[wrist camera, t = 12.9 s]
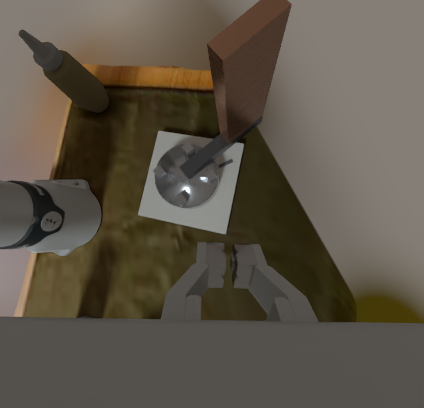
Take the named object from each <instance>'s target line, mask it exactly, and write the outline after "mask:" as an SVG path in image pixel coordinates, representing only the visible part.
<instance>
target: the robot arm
mask: <svg viewBox="0 0 424 408" xmlns="http://www.w3.org/2000/svg"><path fill="white" fill-rule="evenodd" d="M100 222H101V208H100V204H99V202H98V200H97V198H96V197H95V196H94V195H93V193H92V192H91V190H90V187H89V184H88V182H87V181H86V180H82V179H77V180H33V181H32V182H31V183H28V182H23V181H1V180H0V249H19V248H23V247H25V249H27V250H30V251H31V252H32V253H41V252H52V251H53V252H54V253H56V254H58V255H60V256H67V255H69V254H70V253H71V252H72V251H73V250H74V249H75V248H77V247H79V246H81V245H83V244H85V243H87V242H88V241H90V240H91V239H92V238H93V236H94V235H95V234H96V232H97V230H98V228H99V226H100ZM232 252H233V253H232V254H231V260H230V266H231V271H232V272H233V274H232V282H233V288H247V289H249V291H250V292H251V293H252V295H253V296H254V297H255V299H256V300H257V301H258V302H259V304H260V305H261V306H262V308H263V309H264V310H265V312H266V313H267V314H268V317H267V319H266V321H228V320H201V298H202V296H203V295H204V293H205V292H206V290H207V288H211V287H223V282H224V274H225V269H226V257H225V254H224V243H210V242H207V243H206V242H198V244H197V259H196V264H193V265H192V266H191V267H190V268H189V269H188V270H187V271H186V272H185V274H184V275H183V276H182V277H181V278H180V279H179V280H178V281H177V282H176V283H175V284H174V286H173V287H172V288H171V289H170V290H169V291H168V292H167V293H166V297H165V301H164V306H163V311H162V315H161V319H109V318H50V317H0V408H424V324H411V323H352V322H318V320H317V318H316V316H315V314H314V312H313V310H312V308H311V306H310V304H309V302H308V300H307V298H306V297H305V296H304V295H303V294H302V293H301V292H300V291H298V290H297V289H296V288H295V287H294V286H293V285H291V284H290V283H289V282H288V281H287V280H286V279H284V278H283V277H282V276H281V275H280V274H279V273H277V272H276V271H275V270H274V269H273V268H272V267H270V266H267V263H266V261H265V258H264V255H263V252H262V250H261V247H260V245H259V244H233V246H232Z"/></svg>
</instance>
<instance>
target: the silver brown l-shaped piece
mask: <svg viewBox="0 0 424 408" xmlns="http://www.w3.org/2000/svg"><path fill="white" fill-rule="evenodd" d="M290 9H291V3H289V2H288V1H287V0H260V1H259V2H257V3H256V4H255V5H254V6H253V7H251V8H250V9H249V10H248V11H247V12H245V13H244V14H243V15H242V16H241V17H239V18H238V19H237V20H236V21H234V22H233V23H232V24H231V25H230V26H228V27H227V28H226V29H225V30H224V31H222V32H221V33H220V34H219V35H217V36H216V37H215V38H214V39H213V40H211V41H210V42H209V43H208V44H207V47H208V53H209V60H210V67H211V74H212V81H213V87H214V94H215V101H216V108H217V114H218V121H219V128H220V134H219V135H218V136H217V137H216V138H215V139H213V140H212V141H211V142H210V143H208V144H207V145H206V146H205V147H203V148H202V147H200V146H198V145H194V144H190V143H189V141H188V142H187V143H186V144H181V145H178V146H175V147H173V148H171V149H170V150H168V151H167V152H166V153H165V154H164V155H163V156H162V157H161V158H160V160H159V162H158V164H157V166H156V168H155V169H154V170H153V172H154V173H155V185H156V188H157V190H158V192H159V194H160V195H161V197H162V198H163V199H164V200H165V201H167V202H168V203H170V204H172V205H174V206H177V207H180V208H184V209H195V208H199V207H201V206H203V205H205V204H207V203H208V202H209V201H210V200H211V199H212V198H213V197H214V195H215V194H216V192H217V190H218V187H219V181H220V177H219V171H218V168H217V164H216V162H215V159H216V158H218V157H219V156H220V155H221V154H223V153H224V152H225V151H226V150H227V149H229V148H230V147H231V146H232V145H234V144H235V143H236V142H237V141H239V140H240V139H241V138H242V137H244V136H245V135H246V134H247V133H249V132H250V131H251V130H252V129H254V128H255V127H256V126H257V125H259V124H260V123H261V121H262V115H263V111H264V107H265V103H266V100H267V96H268V92H269V88H270V85H271V80H272V77H273V73H274V70H275V65H276V62H277V58H278V54H279V50H280V47H281V43H282V39H283V35H284V32H285V28H286V23H287V20H288V16H289V12H290Z"/></svg>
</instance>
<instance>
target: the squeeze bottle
mask: <svg viewBox="0 0 424 408" xmlns="http://www.w3.org/2000/svg"><path fill="white" fill-rule="evenodd" d="M19 36H20V37H21V38H22V39H23V40H24V41H25V43H26V44H27V45H28V46H29V47H30V48H31V49H32V51H33V52H34V55H33V57H34V60H35V62H36V63H37V64H38V65H40V66H41V67H42V68H43V71H44V74H45V76H46V77H47V78H48V79H49V80H51V81H52V82H53V83H54V84H55V85H56V86H57V87H58V88H59V89H60V90H61V91H62V92H64V93H65V94H66V95H67V96H68V97H69V98H70V99H71V100H72V101H73V102H74V103H75V104H77V105H78V106H79V107H81V108H83V109H86V110H89V111H92V112H95V113H101V112H103V111H105V109H106V108H107V107H108V105H109V97H108V95H107V93H106V91H105V88H104V86H103V84H102V83H101V82H100V81H99V80H98V79H97V78H96V77H95V76H94V75H92V74H91V73H90V72H89V71H88V70H87V69H86V68H84V67H83V66H82V65H81V64H80V63H79V62H77V60H75V59H74V58H73V57H72V56H71V55H70V54H69V53H67V52H66V51H62V50H58V49H57V48H56V47H55V46H54V45H53V44H52V43H49V42H43V43H42V42H40V41H39V40H38V39H36V38H35V37H33V36H31V35H30V34H29V33H27V32H26V31H24V30H20V32H19Z"/></svg>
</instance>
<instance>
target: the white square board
mask: <svg viewBox="0 0 424 408" xmlns="http://www.w3.org/2000/svg"><path fill="white" fill-rule="evenodd" d="M212 140H213V139H209V138H203V137H196V136H190V135H183V134H177V133H170V132H163V131H158V135H157V139H156V144H155V148H154V152H153V156H152V160H151V164H150V168H149V172H148V176H147V180H146V184H145V188H144V192H143V197H142V201H141V205H140V209H139V213H138V215H141V216H145V217H150V218H154V219H159V220H163V221H168V222H172V223H177V224H181V225H186V226H190V227H195V228H199V229H204V230H208V231H213V232H217V233H222V234H226V232H227V227H228V222H229V217H230V212H231V207H232V202H233V197H234V192H235V187H236V182H237V178H238V173H239V168H240V163H241V158H242V153H243V148H244V144H242V143H235V144H234V145H232V146H231V147H230V148H229V149H227V150H226V151H225V152H224V153H223V154H221V155H220V156H219V157H218V158H216V159H215V162H216V164H217V168H218V171H219V177H220V181H219V187H218V190H217V192H216V194H215V195H214V197H213V198H212V199H211V200H210V201H209V202H208V203H207V204H205V205H203V206H201V207H199V208H195V209H184V208H180V207H177V206H174V205H172V204H170V203H168V202H167V201H165V200H164V199H163V198H162V197H161V195H160V194H159V192H158V190H157V188H156V185H155V173H154V172H153V170H154V169H155V168H156V166H157V164H158V162H159V160H160V158H161V157H162V156H163V155H164V154H165V153H166V152H167V151H168V150H170V149H171V148H173V147H175V146H178V145H181V144H186V143H187V142H188V141H189V143H190V144H194V145H198V146H200V147H202V148H203V147H205V146H206V145H207V144H208V143H210V142H211V141H212Z"/></svg>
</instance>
